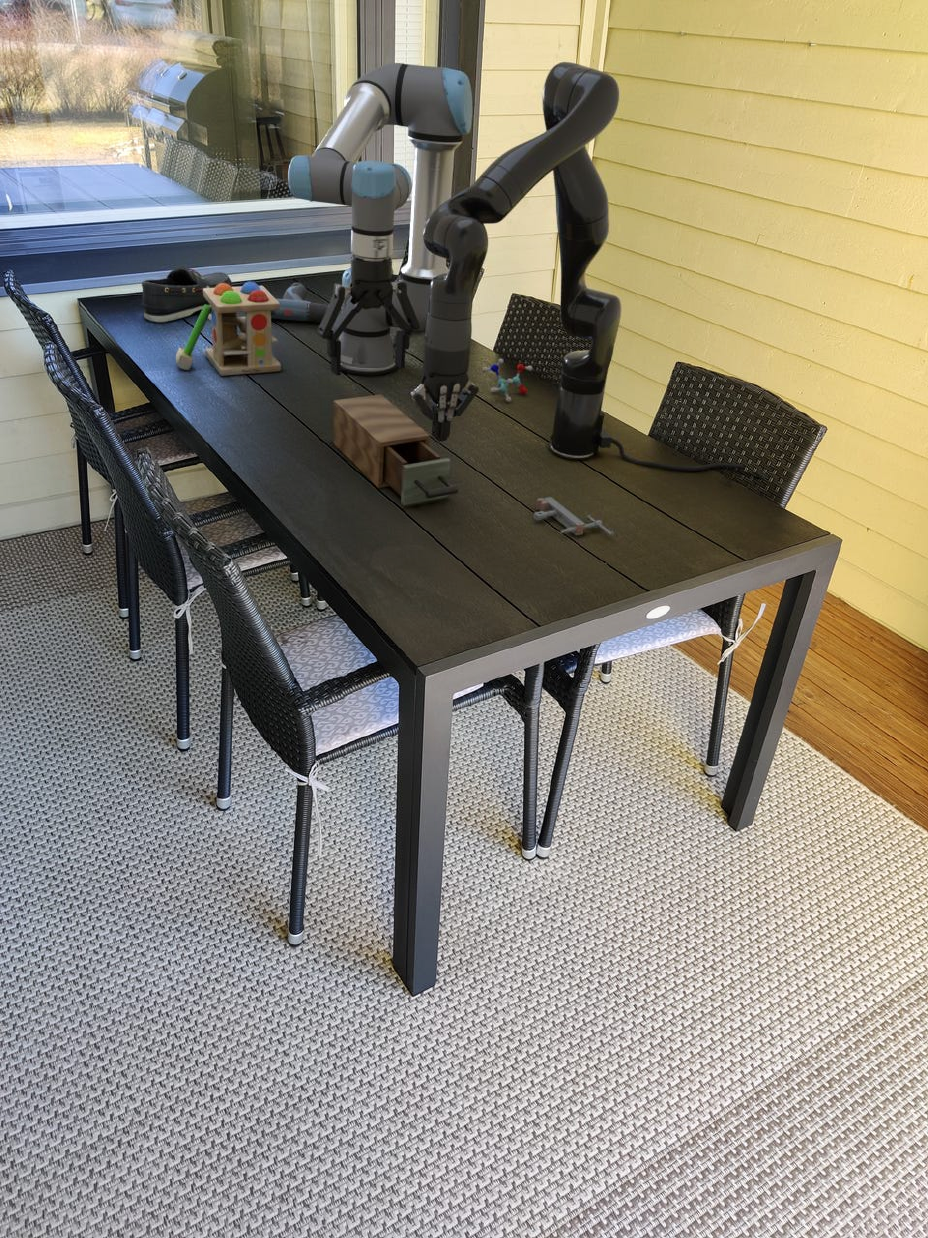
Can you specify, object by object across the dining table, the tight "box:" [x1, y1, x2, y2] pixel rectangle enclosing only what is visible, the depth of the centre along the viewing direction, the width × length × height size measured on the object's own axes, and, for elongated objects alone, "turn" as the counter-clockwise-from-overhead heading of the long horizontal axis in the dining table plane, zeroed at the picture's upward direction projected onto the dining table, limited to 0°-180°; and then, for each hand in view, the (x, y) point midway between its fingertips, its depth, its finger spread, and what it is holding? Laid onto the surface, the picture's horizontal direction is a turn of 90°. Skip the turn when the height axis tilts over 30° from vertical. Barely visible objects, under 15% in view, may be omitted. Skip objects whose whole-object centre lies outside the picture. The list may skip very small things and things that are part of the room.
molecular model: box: [482, 358, 533, 403], centre depth 227 cm, size 12×10×10 cm
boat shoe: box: [141, 266, 234, 323], centre depth 261 cm, size 13×33×10 cm, turn 147°
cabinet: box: [332, 394, 431, 489], centre depth 192 cm, size 21×10×9 cm, turn 30°
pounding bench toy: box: [174, 281, 282, 377], centre depth 225 cm, size 23×14×18 cm, turn 116°
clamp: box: [533, 496, 615, 537], centre depth 178 cm, size 15×2×10 cm
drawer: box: [383, 440, 459, 506], centre depth 183 cm, size 26×9×7 cm, turn 30°
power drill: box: [271, 282, 329, 322], centre depth 265 cm, size 5×19×20 cm
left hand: (368, 369), depth 189 cm, fingers open, 13 cm apart
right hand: (440, 439), depth 170 cm, fingers closed
